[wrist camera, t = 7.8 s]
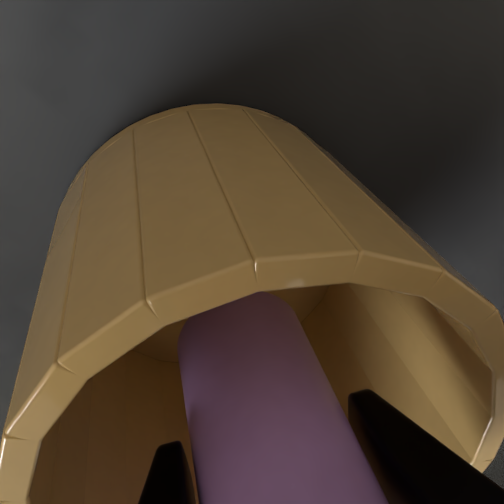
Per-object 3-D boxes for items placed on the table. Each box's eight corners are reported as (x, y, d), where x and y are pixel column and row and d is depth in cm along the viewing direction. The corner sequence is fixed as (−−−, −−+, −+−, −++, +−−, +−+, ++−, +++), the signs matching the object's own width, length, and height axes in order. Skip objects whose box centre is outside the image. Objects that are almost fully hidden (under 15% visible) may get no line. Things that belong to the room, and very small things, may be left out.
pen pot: (391, 261, 16) (564, 454, 10) (184, 399, 17) (221, 653, 11) (252, 28, 11) (410, 111, 5) (-19, 237, 12) (-161, 515, 6)
